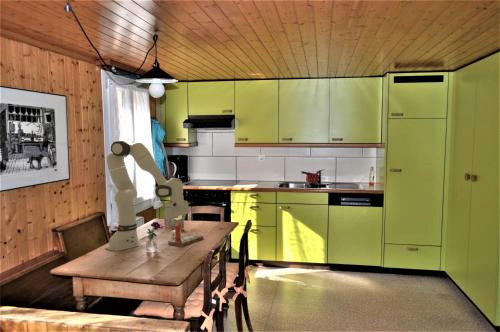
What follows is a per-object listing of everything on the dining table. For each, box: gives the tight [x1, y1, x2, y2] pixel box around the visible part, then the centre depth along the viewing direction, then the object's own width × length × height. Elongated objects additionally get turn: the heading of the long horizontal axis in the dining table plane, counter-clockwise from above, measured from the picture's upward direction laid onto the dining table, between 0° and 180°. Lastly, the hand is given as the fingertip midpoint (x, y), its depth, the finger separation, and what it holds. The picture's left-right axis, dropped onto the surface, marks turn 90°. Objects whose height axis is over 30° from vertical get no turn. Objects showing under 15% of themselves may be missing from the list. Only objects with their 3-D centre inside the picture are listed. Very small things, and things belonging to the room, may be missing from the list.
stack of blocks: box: [163, 211, 185, 231], centre depth 312 cm, size 21×6×12 cm, turn 39°
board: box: [167, 233, 204, 247], centre depth 273 cm, size 23×12×2 cm, turn 148°
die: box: [170, 230, 182, 239], centre depth 284 cm, size 5×5×5 cm
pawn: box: [174, 225, 181, 242], centre depth 265 cm, size 4×4×11 cm
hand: (178, 222), depth 265 cm, fingers open, 8 cm apart
